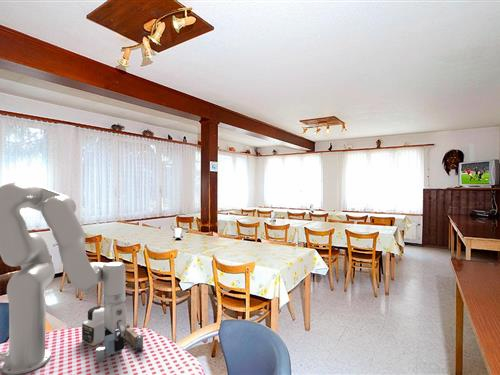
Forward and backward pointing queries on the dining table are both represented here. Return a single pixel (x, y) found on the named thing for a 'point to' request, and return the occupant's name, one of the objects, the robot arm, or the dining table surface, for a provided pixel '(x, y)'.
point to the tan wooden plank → (130, 336)
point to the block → (110, 344)
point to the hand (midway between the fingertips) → (114, 344)
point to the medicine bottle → (94, 326)
